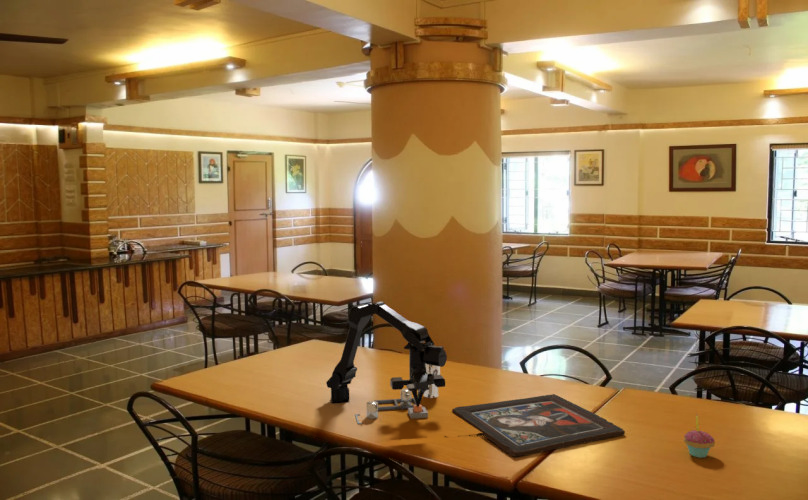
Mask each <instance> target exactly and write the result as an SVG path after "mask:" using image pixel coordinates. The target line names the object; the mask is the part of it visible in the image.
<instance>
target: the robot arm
mask: <svg viewBox="0 0 808 500" xmlns="http://www.w3.org/2000/svg"><path fill="white" fill-rule="evenodd" d="M372 315H376V316H378V317H379V318H380V319H382V320H383V321H385V322H386V323H388V324H389V325H391V326H392V327H393V328H394V329H396V330H397V331H399V333H401V335H402V338H403V339H404V340H405V341H406V342H407V344H406V345H405V346H403V349H404V350H408V351H409V357H408V360H409V361H408V362H409V364H408V365H409V370H408V371H409V379H403V377H402V376H397V377H394V376H393V377H391V378H390V380H389V381H390V382H389V385H390V387H391V389H392V390H393V391H396V390H397V391H398V390H399V391H400V390H402V389H404V387H405V386H406V389H408V390H409V391H411V395H412V396H413V397H412V398H414V400H415V403H416V406H419V405H421V402H422V399H423V396H424V392H425V391H426V390H429V387H428V385H432V384H434V385H435V386H436V387H438V388H444V387H446V379H445V378H444V377H443V375H441V374H440V375H433V374H427V372H426V364H427V365H433V366H439V367H440V368H443V367H444V366H446V364H447V358H448V355H447V352H446V350H444V348H445V347H444V346H442V345H440V346H439V345H438V346H437V345H435V342H434V340H433V339H432V337H431V335H430V334H429V332H428V329H427V327H425V326H424V325H421V324H420V323H417V322H413V321H410V320H408V319H407V318H405V317H404V316H403V315H401V314H400V313H398V312H397V311H395V310H394V309H392V308H391V307H390V306H388V305H387V304H386V303H385V302H384V301H381V300H380V301H377V302H373V303H371V304H366V303H362V304H358V305H354V306H353V307H351V308H350V309H349V312H348V318H347V319H348V325H349V329H348V333H347V336H346V340H345V344H344V348H343V350H342V354H341V358H340V360H339V362H338V363H337V364H336V365H335V366H334V369H333V371H332V373H331V377H330V378H329V379H328V380H327V381H326V382H325V383H326V386H327V388H328V389H330V404H346V403H347V404H348V403H349V400H350V387H348V385H351V384H352V380H353V379H354V378H355V377H356V376H357V375H356V374H357V371H358V367H356V366H355V364H354V361H355V359H356V358H355V357H356V354H357V352H358V348H359V343H360V340H361V337H362V333H363V331H364V328H365V327H366V326H367V324H368V323H369V321H370V319H371V317H372Z"/></svg>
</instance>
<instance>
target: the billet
mask: <svg viewBox="0 0 808 500" xmlns="http://www.w3.org/2000/svg"><path fill="white" fill-rule="evenodd" d="M378 406H379V404H378V402H376V401H374V400H371V401H367V402H366V418H367V419H368V420H375V419H376V420H377V419H378V418H379V411H378Z"/></svg>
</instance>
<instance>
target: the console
mask: <svg viewBox="0 0 808 500" xmlns="http://www.w3.org/2000/svg"><path fill="white" fill-rule="evenodd" d="M407 414H408V416H409V417H410V419H411V420H413V419H424V418H425V419H426V418H429V412H428V409H427V408H426V407H425V406H422V412H414V408H408V409H407Z"/></svg>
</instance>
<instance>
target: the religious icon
mask: <svg viewBox="0 0 808 500" xmlns="http://www.w3.org/2000/svg"><path fill="white" fill-rule="evenodd" d="M451 411H452V413H453V414H454V415H456V416H457V417H459V418H461V419H462V420H463V421H464V422H466V423H468V424H469V425H471V426H472V427H473V428H475V429H476V430H478V431H480V432H479V433H476V434H475V436H476V437H481V436H484V437H485V438H486V439H488V440H489V441H491V442H492V443H493V444H495V445H496V446H497V447H498V448H500V449H501V450H502V451H504V452H505V453H507V454H508V455H510V456H512V457H515V458H516V457H523V456H527V455H528V456H529V455H533V454H537V453H542V452H547V451H552V450H557V449H563V448H569V447H571V446H572V447H573V446H577V445H582V444H587V443H591V442H595V441H602V440H607V439H612V438H617V437H620V436H624V435H625V434H626V431H625V430H624V428H621V427H620V426H618V425H616V424H614V423H613V422H612V421H611V422H610V421H608V420H607V419H606V418H604V417H601V416H599V414H596V413H594V412H592V411H590V410H588V409H585V408H583V406H582V407H581V406H579V404H576V403H573V402H572V401H569V400H567V399H565V398H562V397H561V396H558V395H557V394H555V393H552V394H545V395H538V396H533V397H532V396H531V397H526V398H518V399H510V400H502V401H497V402H496V401H495V402H488V403H481V404H472V405H471V404H470V405H464V406H463V405H462V406H456V407H455V408H452V410H451Z"/></svg>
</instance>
